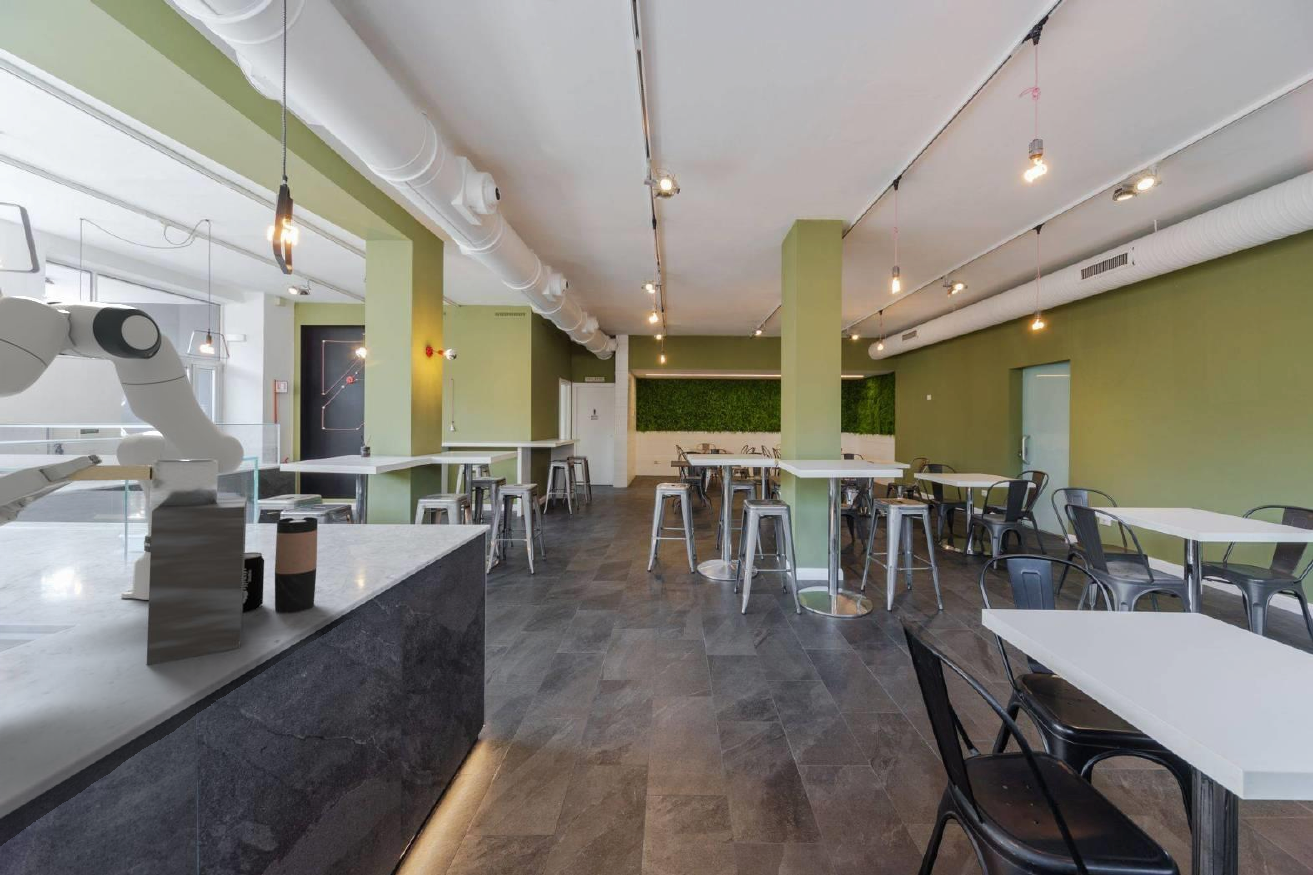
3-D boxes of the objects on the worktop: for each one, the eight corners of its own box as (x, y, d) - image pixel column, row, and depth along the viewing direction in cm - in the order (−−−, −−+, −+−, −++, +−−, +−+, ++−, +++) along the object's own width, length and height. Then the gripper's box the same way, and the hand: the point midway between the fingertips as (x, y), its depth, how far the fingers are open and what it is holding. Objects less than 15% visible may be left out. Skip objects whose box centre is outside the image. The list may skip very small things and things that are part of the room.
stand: (162, 633, 96) (166, 499, 96) (242, 621, 104) (246, 497, 104) (146, 664, 84) (152, 511, 84) (239, 648, 91) (244, 506, 91)
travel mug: (293, 615, 108) (296, 523, 108) (264, 611, 110) (267, 521, 110) (323, 604, 115) (326, 518, 116) (296, 600, 117) (298, 516, 117)
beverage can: (269, 607, 112) (270, 554, 112) (234, 616, 106) (236, 560, 107) (252, 602, 115) (254, 550, 115) (218, 610, 109) (219, 556, 109)
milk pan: (77, 505, 87) (79, 458, 87) (218, 500, 98) (219, 458, 98) (61, 512, 80) (63, 461, 80) (214, 505, 91) (216, 461, 91)
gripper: (-73, 492, 68) (61, 444, 76) (-9, 480, 85) (97, 441, 92) (-37, 530, 70) (90, 479, 78) (19, 511, 86) (120, 470, 94)
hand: (94, 458), depth 85 cm, fingers open, 5 cm apart
